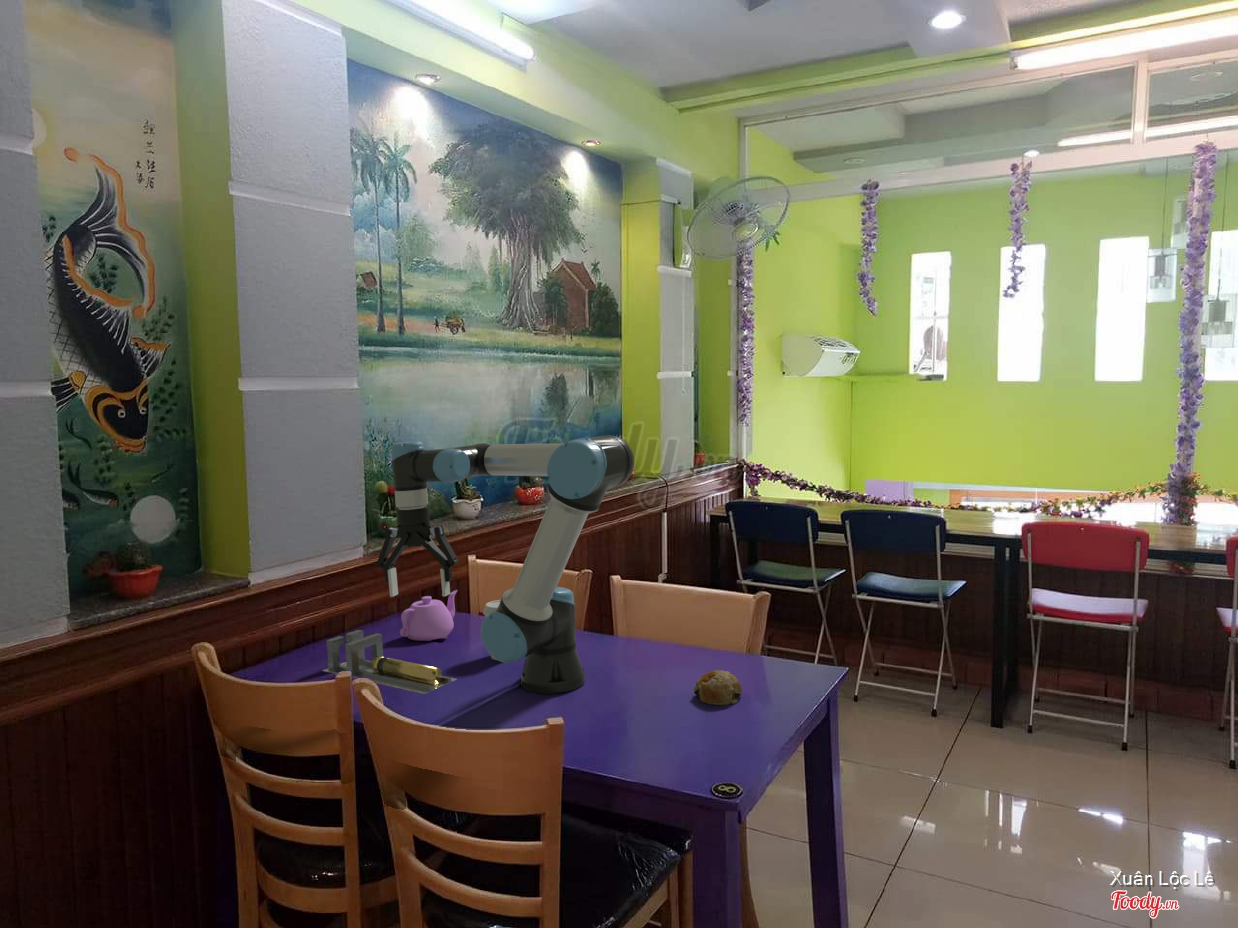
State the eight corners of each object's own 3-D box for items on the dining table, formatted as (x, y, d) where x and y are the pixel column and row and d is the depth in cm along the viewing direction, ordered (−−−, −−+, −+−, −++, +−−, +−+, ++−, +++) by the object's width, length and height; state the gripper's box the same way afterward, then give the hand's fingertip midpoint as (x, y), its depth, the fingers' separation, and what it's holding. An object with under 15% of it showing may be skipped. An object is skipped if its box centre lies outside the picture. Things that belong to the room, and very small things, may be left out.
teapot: (445, 625, 258) (442, 585, 257) (475, 633, 249) (472, 592, 247) (387, 642, 243) (384, 600, 242) (416, 651, 234) (413, 607, 233)
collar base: (457, 682, 208) (455, 646, 207) (424, 698, 198) (422, 660, 198) (356, 661, 227) (354, 628, 226) (322, 674, 218) (319, 639, 217)
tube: (441, 683, 206) (442, 666, 206) (428, 685, 202) (430, 668, 203) (383, 671, 216) (384, 654, 217) (370, 673, 213) (371, 656, 213)
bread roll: (721, 724, 186) (735, 694, 184) (683, 697, 191) (695, 668, 188) (740, 708, 194) (753, 679, 192) (703, 683, 199) (715, 655, 196)
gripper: (467, 503, 204) (475, 590, 206) (372, 506, 210) (380, 591, 211) (454, 507, 197) (462, 598, 198) (356, 511, 202) (364, 599, 204)
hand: (420, 595), depth 205 cm, fingers open, 13 cm apart
